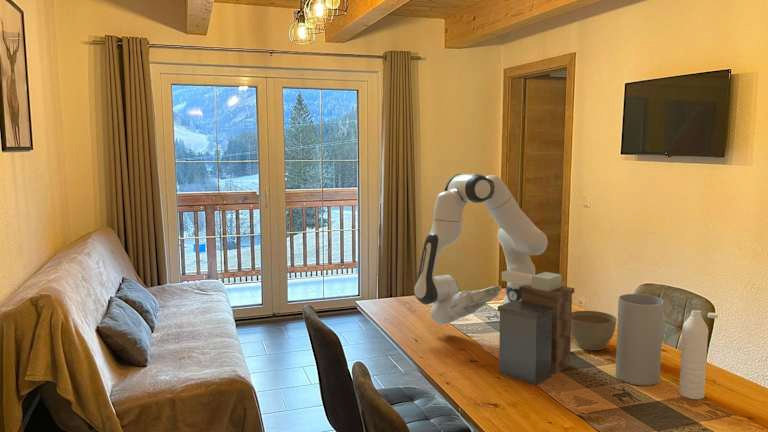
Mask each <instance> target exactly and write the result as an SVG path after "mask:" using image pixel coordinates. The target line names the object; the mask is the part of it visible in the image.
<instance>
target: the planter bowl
mask: <svg viewBox="0 0 768 432" xmlns="http://www.w3.org/2000/svg"><path fill="white" fill-rule="evenodd" d="M617 322H618V318H617V317H616V316H614V315H612V314H610V313H607V312H604V311H596V310H576V311H572V313H571V336H573V337H572V338H573V339H574V340H575V341H576V344H577V345H576V346H578V347H579V348H581V349H583V350H587V351H588V350H589V351H601V350H604V349H606V347H607V344H609V342H610V341H611V339H612V338H613V336H614V333H615V330H616V323H617Z"/></svg>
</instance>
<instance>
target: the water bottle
mask: <svg viewBox="0 0 768 432" xmlns="http://www.w3.org/2000/svg"><path fill="white" fill-rule="evenodd" d="M690 312H691V313H690V316H689V317H688V318H687V319H686V320H685V321H684V323H683V324H682V328H681V329H682V330H681V333H682V334H681V336H682V337H681V350H680V351H681V352H680V368H679V386H678V393H679V395H681V396H682V397H684V398H687V399H691V400H702V399H704V398H705V393H706V392H705V391H706V390H705V388H706V372H707V371H706V370H707V360H708V359H707V357H708V354H707V353H708V342H709V341H708V340H709V338H708V337H709V327H708V325H707V323H706V322H705V321H704V319H703V318H702V315H703V314H702V311H701V310H698V309H697V310H696V309H692V310H691V311H690ZM707 318H710V319H718V318H719V314H718V313H716V312H707Z"/></svg>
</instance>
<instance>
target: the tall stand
mask: <svg viewBox="0 0 768 432" xmlns="http://www.w3.org/2000/svg"><path fill="white" fill-rule="evenodd" d="M519 291H521V301H523V302H528V303H532V304H537V305H541V306H546V307H550V308H555V313H554V314H552V349H551V374H555V375H556V374H558V373H560V372H562V371H564V370H566V369H567V368H569V367H570V366H571V345H572V344H571V343H572V333H571V313H572V312H573V311H572V308H573V307H572V306H573V294H574V293H575V287H569V286H564V285H561V287H559V288H557V289H554V290H551V291H549V292H548V291H543V290H538V289H533V288H532V286H527V285H523V286H520V287H519Z"/></svg>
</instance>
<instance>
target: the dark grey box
mask: <svg viewBox="0 0 768 432" xmlns="http://www.w3.org/2000/svg"><path fill="white" fill-rule="evenodd" d="M497 312H499V348H498V349H499V352H498V353H499V354H498V355H499V357H498V358H499V361H498V365H499V367H498V368H499V369H498V374H500V375H502V376H506V377H508V378H512V379H515V380H517V381H520V382H523V383H527V384H530V385H532V386H537V385H539V384H541V383H542V382H545V381H546V380H547V379H549V378H551V377H552V373H551V349H552V314H554V313H555V308H550V307H546V306H541V305H537V304H532V303H528V302H523V301H519V300H514V301H511V302H508V303H506V304H504V303H503V304H501V305H498V306H497Z"/></svg>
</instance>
